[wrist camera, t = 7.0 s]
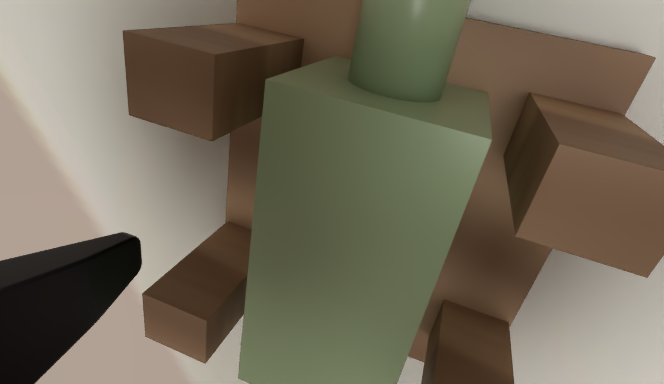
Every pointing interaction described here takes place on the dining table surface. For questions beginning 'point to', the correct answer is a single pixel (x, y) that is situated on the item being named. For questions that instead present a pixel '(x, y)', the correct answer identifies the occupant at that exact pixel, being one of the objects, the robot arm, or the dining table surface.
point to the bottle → (359, 198)
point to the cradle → (486, 197)
